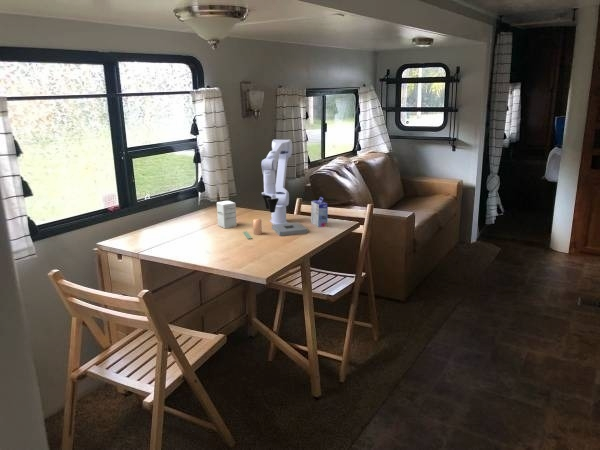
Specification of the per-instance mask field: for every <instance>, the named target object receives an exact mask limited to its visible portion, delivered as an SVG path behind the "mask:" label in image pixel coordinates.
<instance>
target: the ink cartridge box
mask: <svg viewBox="0 0 600 450" xmlns="http://www.w3.org/2000/svg"><path fill="white" fill-rule="evenodd" d="M323 200H324V197H322V196H320V197H319V199H318V200H311V201H310V202H311V208H310V209H311V211H310V223H311V225H314V226H315V227H316V228H317V227H318V228H320V227H321V228H322V227H324V228H325V227H328V222H329V221H328V219H329V217H328V213H329V212H328V209H329V206H328V205H329V203H327V202H324V201H323Z"/></svg>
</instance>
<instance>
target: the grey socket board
mask: <svg viewBox="0 0 600 450" xmlns="http://www.w3.org/2000/svg"><path fill="white" fill-rule="evenodd" d="M271 229H272V230H273V231H274V232H275V233H276V235H278V236H279V237H286V236H292V235H293V236H294V235H295V236H296V235H303V234H308V233H309V232H308V230H309V229H308V228H307V227H306V226H304V225H303V224H301V223H300V222H299V221H297V222H288V223H285V224H275V225H274V224H272V225H271Z"/></svg>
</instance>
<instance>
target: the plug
mask: <svg viewBox="0 0 600 450" xmlns="http://www.w3.org/2000/svg"><path fill="white" fill-rule="evenodd" d="M252 225H253V227H252V229H253V235H255V236H259V235H262V234H263V229H262V228H263V226H262V219H261V218H254V219H253V220H252Z"/></svg>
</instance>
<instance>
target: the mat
mask: <svg viewBox="0 0 600 450" xmlns="http://www.w3.org/2000/svg"><path fill="white" fill-rule="evenodd" d="M242 233H243V235H244V236H245V238H246V239H247V240H253V237H252V236H251V235H250V234H249V232H248V231H246V230H245V231H242Z"/></svg>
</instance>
